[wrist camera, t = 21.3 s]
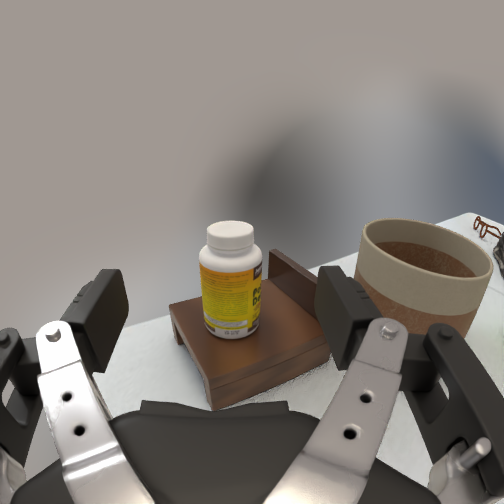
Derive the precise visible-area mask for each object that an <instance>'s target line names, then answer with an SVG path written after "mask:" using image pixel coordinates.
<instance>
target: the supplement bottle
mask: <svg viewBox="0 0 504 504" xmlns="http://www.w3.org/2000/svg"><path fill="white" fill-rule="evenodd" d="M253 235H254V231H253V227H252V226H251V225H250V224H248V223H245V222H241V221H240V222H239V221H222V222H217V223H214V224H212V225H211V226H209V227H208V228H207V245H206V246H204V247H203V248H202V249H201V251H200V253H199V264H200V275H201V276H200V277H201V289H202V301H203V311H204V321H205V325H206V327H207V329H208V330H209V331H210V332H211V333H212V334H214V335H216V336H218V337H221V338H225V339H238V338H242V337H246V336H248V335H250V334H251V333H252V332H254V331H255V330H256V328H257V327H258V325H259V321H260V300H261V275H262V274H261V273H262V253H261V250H260V249H259V247H257V246H256V245H255V244H254V243H253V242H254V236H253Z"/></svg>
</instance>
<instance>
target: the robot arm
mask: <svg viewBox="0 0 504 504" xmlns="http://www.w3.org/2000/svg"><path fill="white" fill-rule="evenodd" d="M314 308H315V313H316V316H317V318H318V321H319V323H320V326H321V328H322V330H323V333H324V335H325V338H326V340H327V343H328V346H329V348H330V351H331V353H332V356H333V358H334V361H335V363H336V366H337V368H338V371H340V370H347V369H348V370H347V372H346V374H345V376H344V378H343V380H342V382H341V384H340V386H339V388H338V390H337V392H336V393H335V395H334V397H333V399H332V401H331V403H330V405H329V406H328V408H327V410H326V412H325V413H324V415H323V417H322V419H321V420H320V419H318V418H315V417H313V416H311V415H307V414H304V413H300V412H296V411H289V408H288V402H287V401H277V402H262V403H249V404H245V405H241V406H237V407H233V408H228V409H224V410H219V411H207V410H203V409H199V408H194V407H190V406H186V405H183V404H179V403H172V402H157V401H146V400H142V403H141V407H140V410H137V411H132V412H128V413H125V414H122V415H120V416H117V417H115V418H113V417H112V415H111V413H110V411H109V409H108V407H107V405H106V403H105V401H104V399H103V397H102V395H101V393H100V391H99V389H98V386H97V384H96V382H95V380H94V378H93V376H92V374H93V372H99V373H105V371H106V368H107V365H108V363H109V360H110V358H111V355H112V353H113V350H114V348H115V345H116V343H117V340H118V338H119V335H120V333H121V330H122V328H123V326H124V323H125V321H126V319H127V316H128V311H129V304H128V299H127V295H126V290H125V286H124V281H123V277H122V273H121V271H120V270H119V269H102V270H101V271H100V272H99V274H98V275H97V277H96V278H95V280H94V281H90V282H89V283H88V284H87V285H85V286H84V287H82V289H81V290H80V292H79V293H78V294H77V296H76V297H75V299H74V300H73V303H71V304H70V306H69V307H68V308H67V310H66V312H65V313H64V314H63V316H62V317H61V319H60V320H59V321H54V322H50V323H48V324H46V325H44V326H43V327H42V328H41V329H40V330H39V331H38V333H37V335H36V337H34V338H26V339H21V337H20V335H19V333H18V331H17V330H16V329H14V328H6V329H3V330H1V331H0V504H494V503H496V502H497V501H499V500H501V499H502V498H504V398H503V396H502V395H501V393H500V391H499V390H498V388H497V387H496V385H495V383H494V382H493V380H492V379H491V377H490V376H489V374H488V373H487V371H486V370H485V368H484V367H483V365H482V364H481V362H480V361H479V360H478V358H477V357H476V355H475V354H474V352H473V351H472V350H471V348H470V347H469V346H468V344H467V343H466V341H465V340H464V339H463V337H462V336H461V335H460V333H459V332H458V331H457V330H456V329H455V328H453V327H452V326H450V325H448V324H445V323H434V324H432V325H430V327H429V329H428V331H427V333H426V335H424V334H413V333H408V331H407V329H406V327H405V326H404V325H403V324H401V323H400V322H398V321H396V320H394V319H390V318H384V317H383V316H382V314H381V313H380V311H379V310H378V308H377V307H376V305H375V304H374V302H373V301H372V299H370V297H369V295H368V294H367V292H365V289H364V288H363V287H362V285H361V284H360V283H359V282H357V281H356V280H355V279H353V278H352V277H346V275H345V274H344V272H343V271H342V269H341V268H340V266H321V267H320V268H319V272H318V279H317V285H316V292H315V298H314ZM441 377H442V379H443V381H444V382H445V384H446V386H447V388H448V390H449V400H448V398H447V397H446V395H445V393H444V391H443V389H442V387H441V385H440V384H439V382H438V381H439V379H440V378H441ZM8 379H9V380H10V381H11V382H12V384H13V385H14V387H15V388H14V390H13V392H12V394H11V397H10V399H9V401H8V403H7V406H6V407H5V406H4V404H3V402H2V392H3V390H4V388H5V386H6V383H7V381H8ZM398 391H403V392H404V394H405V397H406V399H407V401H408V404H409V406H410V408H411V410H412V413H413V415H414V418H415V420H416V422H417V425H418V427H419V430H420V432H421V435H422V437H423V440H424V442H425V445H426V447H427V450H428V453H429V455H430V458H431V461H432V463H433V466H432V468H431V470H430V474H429V483H428V486H427V487H428V488H426V487H424V486H422V485H421V484H419V483H417V482H415V481H414V480H412V479H410V478H408V477H407V476H405V475H403V474H402V473H400V472H398V471H397V470H395V469H393V468H392V467H390V466H389V465H387V464H385V463H384V462H382V461H381V460H379V459H378V458H376V454H377V452H378V449H379V447H380V444H381V442H382V439H383V436H384V434H385V431H386V428H387V425H388V422H389V419H390V416H391V413H392V410H393V407H394V403H395V400H396V397H397V393H398ZM43 406H44V410H45V414H46V417H47V421H48V424H49V427H50V430H51V434H52V437H53V440H54V443H55V446H56V449H57V452H58V454H59V457H60V458H59V459H58V460H57V461H55V462H54V463H52V464H51V465H50V466H48V467H47V468H45V469H44V470H43V471H41V472H40V473H38V474H37V475H36V476H34V477H33V478H31V479H30V480H29V481H27V480H26V474H25V471H24V466H25V462H26V458H27V455H28V451H29V448H30V444H31V441H32V438H33V434H34V431H35V429H36V426H37V423H38V420H39V417H40V414H41V411H42V408H43Z"/></svg>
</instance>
